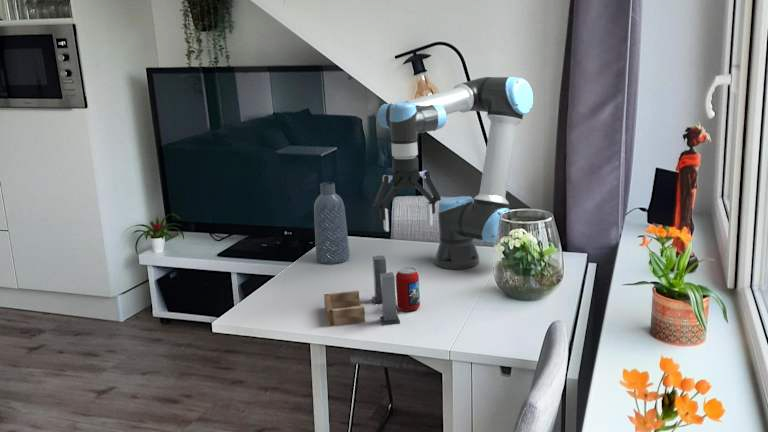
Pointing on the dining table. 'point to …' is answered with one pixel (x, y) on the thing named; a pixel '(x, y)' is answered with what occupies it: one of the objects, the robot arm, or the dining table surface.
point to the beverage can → (407, 289)
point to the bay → (344, 308)
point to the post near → (388, 299)
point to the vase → (330, 226)
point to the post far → (378, 277)
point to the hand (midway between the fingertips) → (408, 227)
